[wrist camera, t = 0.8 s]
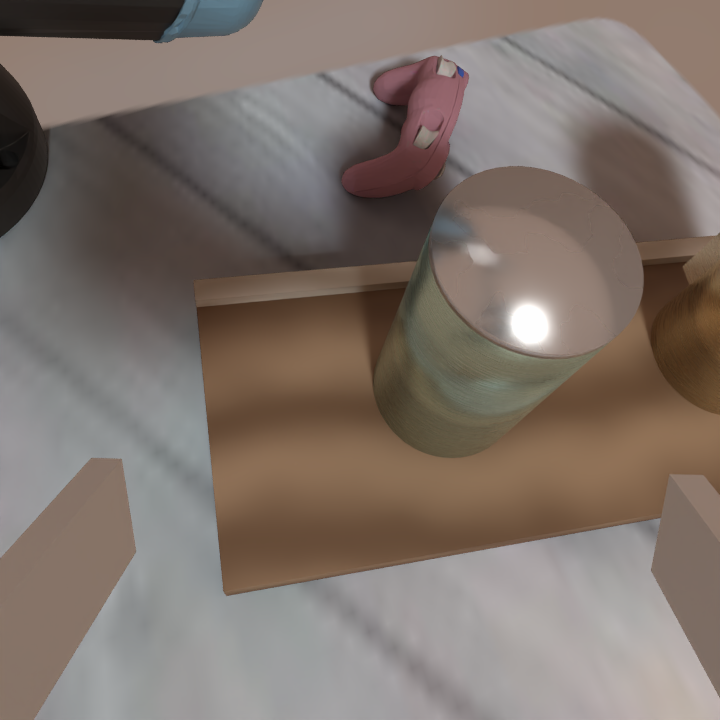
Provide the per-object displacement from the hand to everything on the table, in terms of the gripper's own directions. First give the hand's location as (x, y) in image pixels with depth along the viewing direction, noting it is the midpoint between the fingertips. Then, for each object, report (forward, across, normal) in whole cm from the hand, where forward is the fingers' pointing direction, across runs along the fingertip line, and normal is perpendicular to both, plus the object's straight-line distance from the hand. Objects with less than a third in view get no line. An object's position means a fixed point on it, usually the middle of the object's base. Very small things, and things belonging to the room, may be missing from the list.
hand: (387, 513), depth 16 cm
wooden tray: (+20, +6, -6) cm, 21 cm away
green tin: (+18, +3, -4) cm, 18 cm away
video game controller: (+31, 0, +6) cm, 32 cm away
